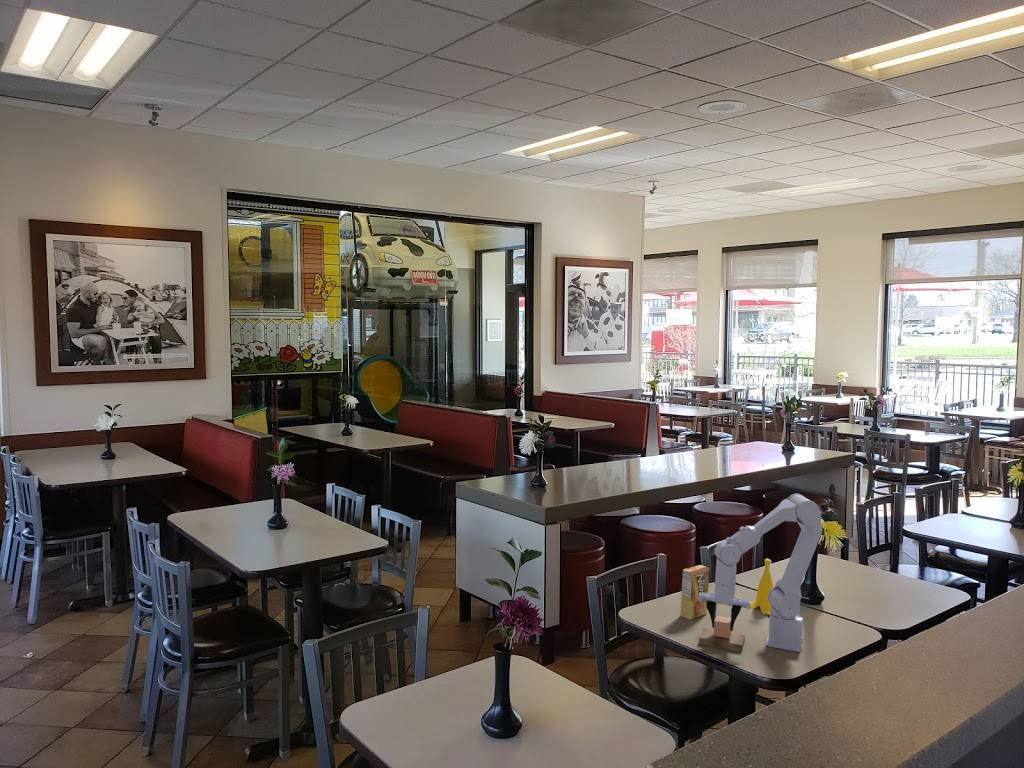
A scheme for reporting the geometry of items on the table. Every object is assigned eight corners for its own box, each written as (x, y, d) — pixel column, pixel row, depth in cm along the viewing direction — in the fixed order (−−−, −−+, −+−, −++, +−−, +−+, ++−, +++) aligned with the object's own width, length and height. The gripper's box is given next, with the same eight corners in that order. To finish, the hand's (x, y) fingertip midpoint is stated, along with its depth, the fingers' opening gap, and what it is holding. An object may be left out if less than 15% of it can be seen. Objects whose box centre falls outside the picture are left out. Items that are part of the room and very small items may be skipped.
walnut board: (744, 641, 226) (745, 634, 226) (741, 652, 219) (742, 645, 219) (703, 634, 231) (703, 627, 231) (699, 644, 224) (699, 637, 223)
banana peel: (786, 602, 260) (789, 554, 258) (779, 622, 243) (783, 570, 241) (736, 593, 267) (739, 546, 265) (726, 612, 250) (729, 561, 248)
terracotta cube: (731, 632, 226) (732, 618, 226) (729, 638, 222) (730, 623, 222) (715, 630, 228) (716, 615, 228) (713, 635, 224) (714, 620, 224)
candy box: (696, 610, 250) (699, 564, 249) (707, 614, 247) (710, 567, 246) (679, 616, 245) (682, 569, 243) (690, 620, 241) (692, 572, 240)
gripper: (752, 582, 224) (749, 627, 226) (701, 575, 230) (699, 619, 231) (750, 590, 218) (747, 636, 219) (698, 582, 223) (695, 627, 225)
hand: (722, 628), depth 225 cm, fingers closed on terracotta cube, 4 cm apart
